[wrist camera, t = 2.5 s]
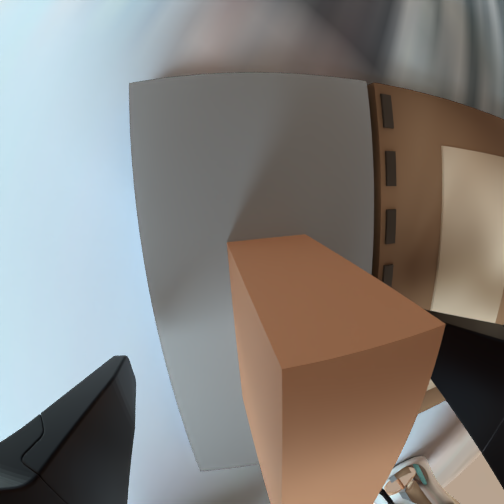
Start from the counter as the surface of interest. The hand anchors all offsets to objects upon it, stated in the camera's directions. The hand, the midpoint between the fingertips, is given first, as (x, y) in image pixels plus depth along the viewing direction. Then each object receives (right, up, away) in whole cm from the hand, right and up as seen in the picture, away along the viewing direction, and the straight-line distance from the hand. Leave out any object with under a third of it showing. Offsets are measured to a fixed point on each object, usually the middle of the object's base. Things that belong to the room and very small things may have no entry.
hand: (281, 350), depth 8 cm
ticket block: (+9, +2, +4) cm, 10 cm away
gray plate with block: (0, +1, +3) cm, 3 cm away
